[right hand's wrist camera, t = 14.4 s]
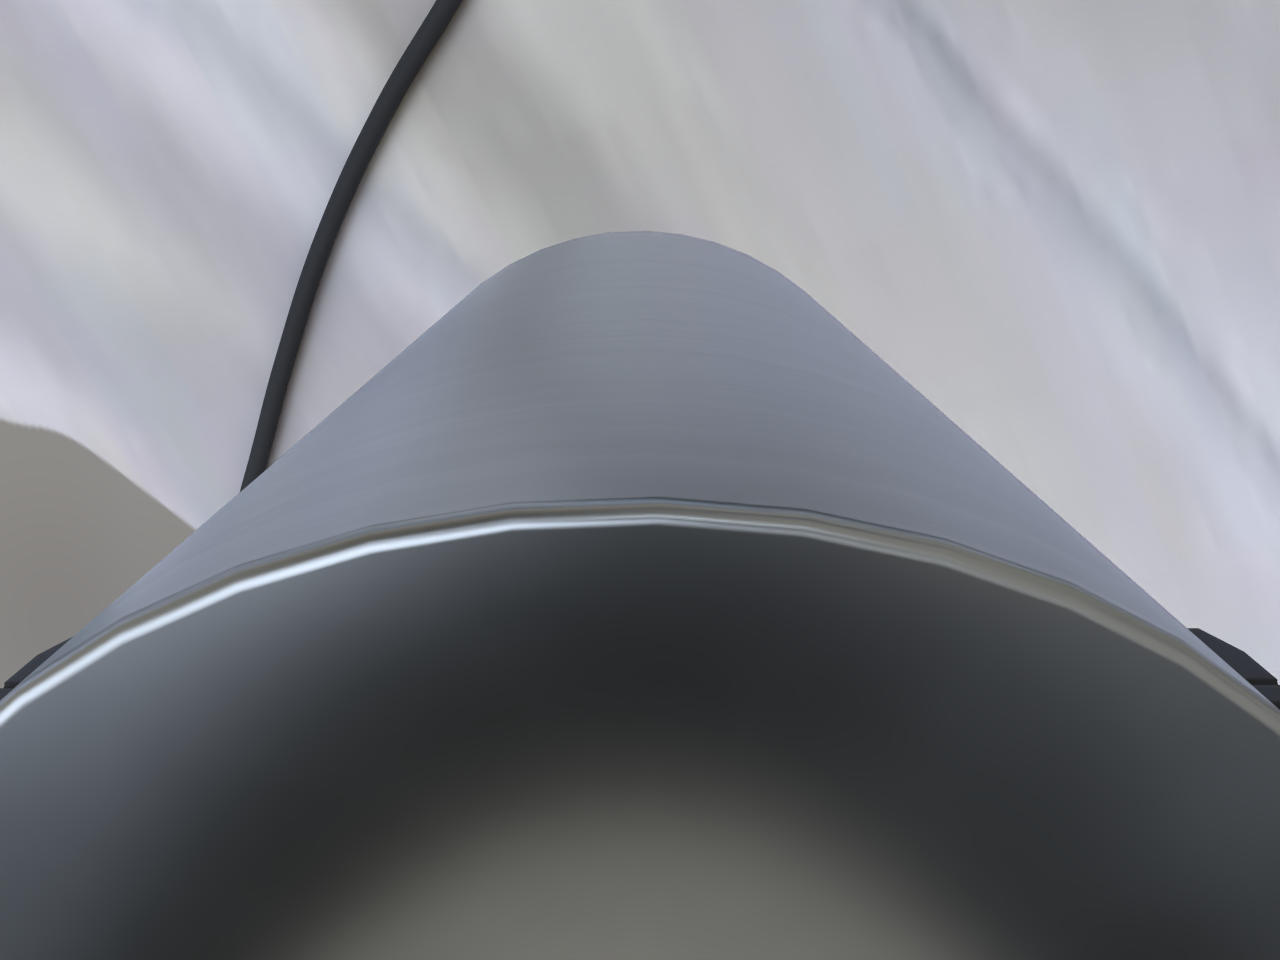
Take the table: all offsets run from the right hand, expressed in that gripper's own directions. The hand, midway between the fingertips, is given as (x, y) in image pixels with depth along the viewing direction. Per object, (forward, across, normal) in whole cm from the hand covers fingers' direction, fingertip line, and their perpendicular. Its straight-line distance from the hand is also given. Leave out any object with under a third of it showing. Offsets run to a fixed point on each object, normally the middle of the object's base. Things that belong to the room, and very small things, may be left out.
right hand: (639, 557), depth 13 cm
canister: (+3, 0, 0) cm, 3 cm away
